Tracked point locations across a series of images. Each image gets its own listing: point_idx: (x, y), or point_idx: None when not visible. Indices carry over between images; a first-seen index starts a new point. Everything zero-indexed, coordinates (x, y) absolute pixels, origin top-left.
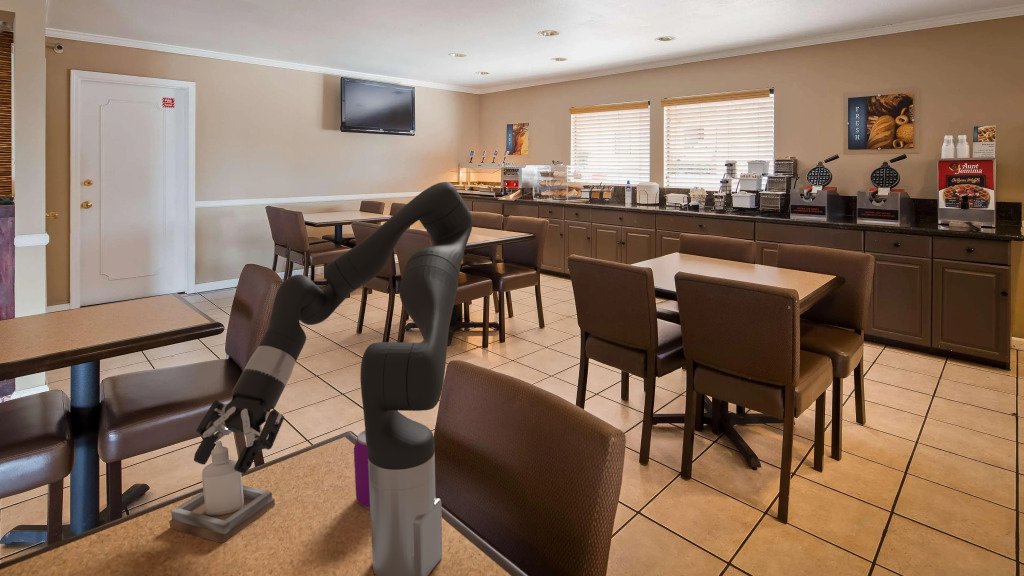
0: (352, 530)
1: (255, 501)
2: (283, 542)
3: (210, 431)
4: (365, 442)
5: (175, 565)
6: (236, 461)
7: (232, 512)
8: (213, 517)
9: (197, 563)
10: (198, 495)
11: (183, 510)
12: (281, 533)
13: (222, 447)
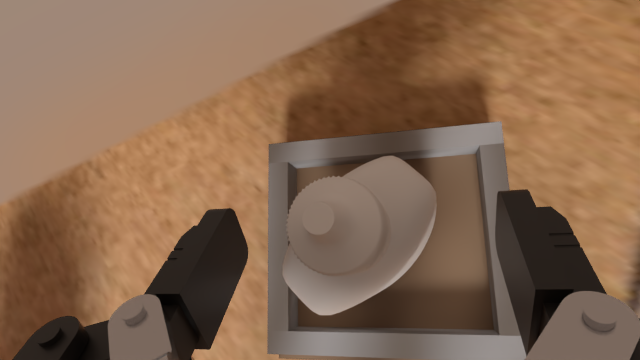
0: (34, 323)
1: (276, 282)
2: (153, 217)
3: (570, 345)
4: None
5: (322, 44)
6: (313, 298)
7: None
8: None
9: (281, 73)
10: None
11: (461, 142)
12: None
13: (305, 229)
